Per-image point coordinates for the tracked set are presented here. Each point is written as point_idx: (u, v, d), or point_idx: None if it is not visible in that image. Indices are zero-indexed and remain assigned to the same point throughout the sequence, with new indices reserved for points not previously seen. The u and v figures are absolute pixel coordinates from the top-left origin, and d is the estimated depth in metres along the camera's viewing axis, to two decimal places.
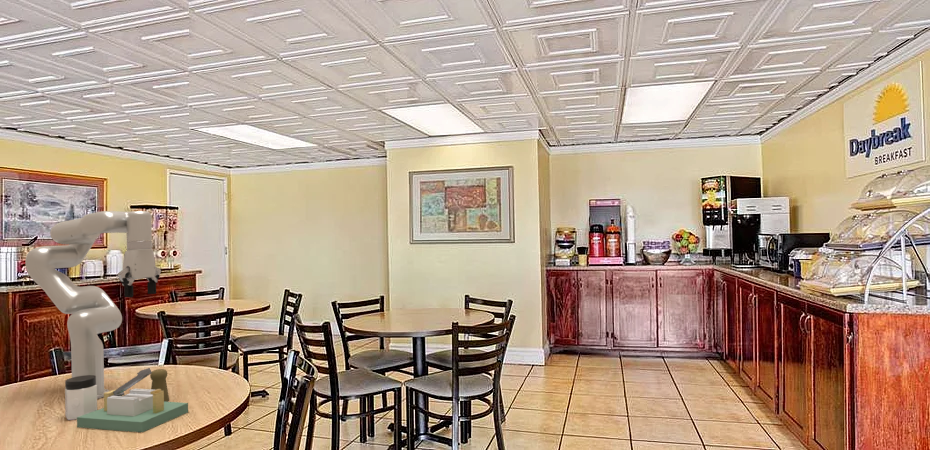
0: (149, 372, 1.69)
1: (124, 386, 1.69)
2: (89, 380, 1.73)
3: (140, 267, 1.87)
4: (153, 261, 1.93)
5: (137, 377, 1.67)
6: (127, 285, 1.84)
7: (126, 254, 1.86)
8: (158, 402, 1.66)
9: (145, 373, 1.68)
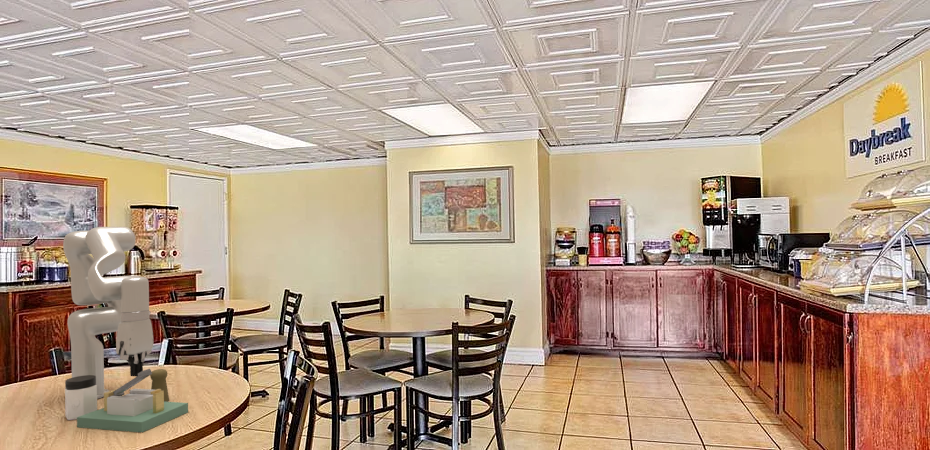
0: (149, 373, 1.69)
1: (124, 386, 1.68)
2: (89, 380, 1.73)
3: (136, 341, 1.67)
4: (151, 332, 1.72)
5: (137, 378, 1.67)
6: (133, 363, 1.68)
7: (120, 327, 1.65)
8: (158, 402, 1.66)
9: (146, 373, 1.68)
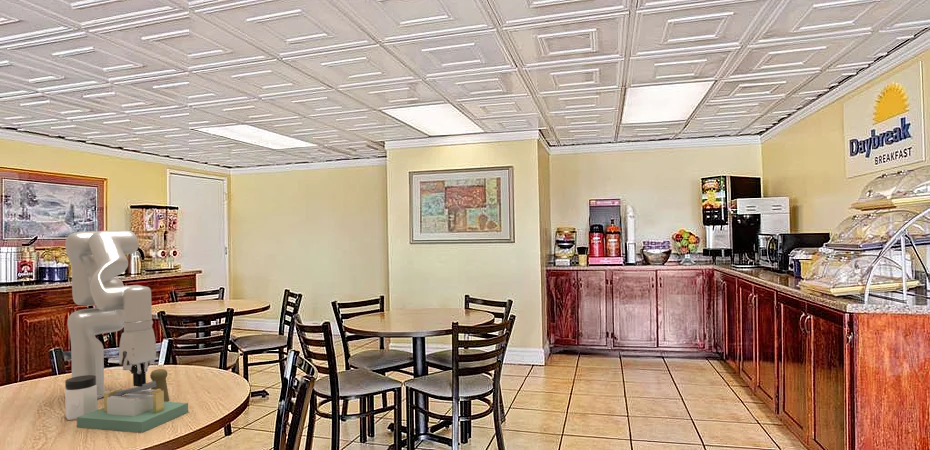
0: (154, 385, 1.68)
1: (126, 392, 1.68)
2: (89, 380, 1.73)
3: (139, 351, 1.66)
4: (153, 342, 1.72)
5: (141, 388, 1.67)
6: (136, 373, 1.67)
7: (123, 337, 1.65)
8: (158, 402, 1.66)
9: (150, 386, 1.67)
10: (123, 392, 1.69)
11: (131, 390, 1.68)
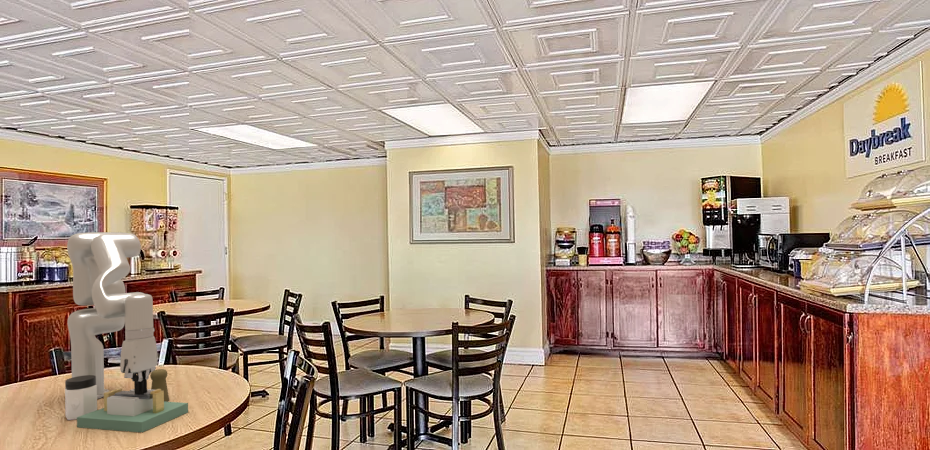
0: None
1: (127, 396, 1.68)
2: (89, 380, 1.73)
3: (140, 359, 1.66)
4: (155, 349, 1.72)
5: (143, 396, 1.67)
6: (137, 381, 1.67)
7: (124, 345, 1.65)
8: (158, 402, 1.66)
9: (152, 396, 1.67)
10: (124, 395, 1.69)
11: (132, 396, 1.68)
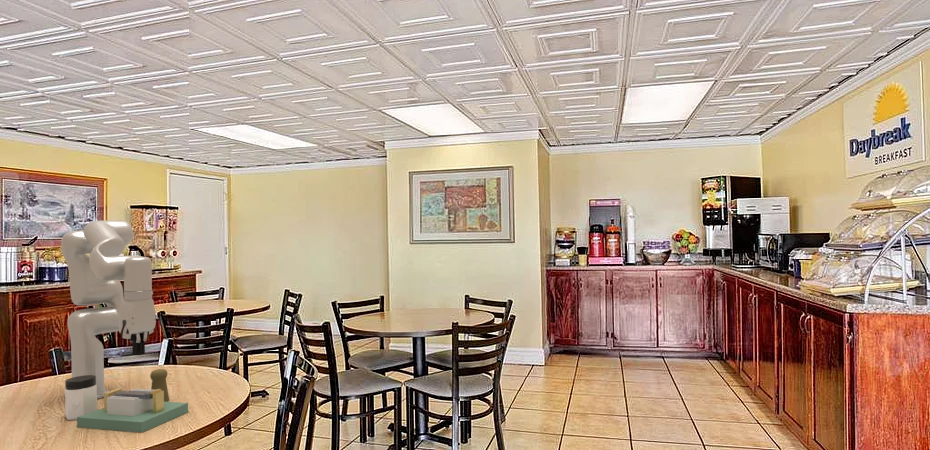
0: None
1: (127, 396, 1.68)
2: (89, 380, 1.73)
3: (138, 320, 1.68)
4: (153, 312, 1.73)
5: (143, 396, 1.67)
6: (135, 342, 1.69)
7: (123, 306, 1.66)
8: (158, 402, 1.66)
9: (152, 396, 1.67)
10: (124, 395, 1.69)
11: (132, 396, 1.68)
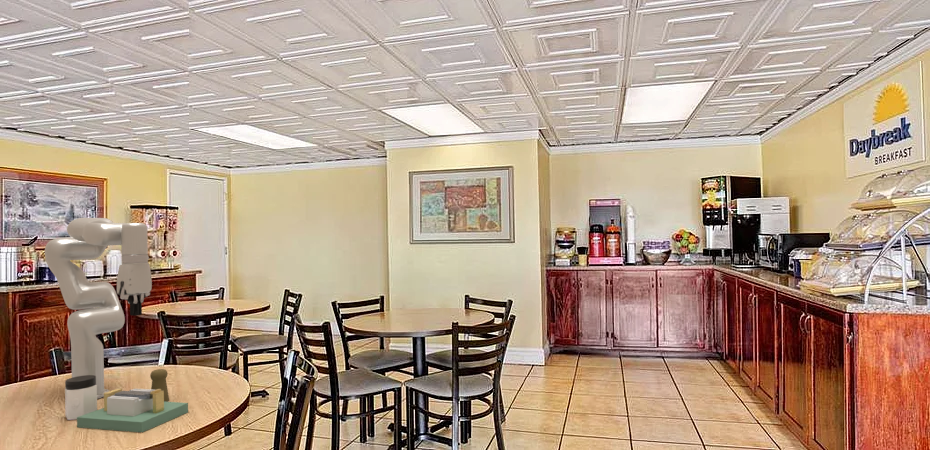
0: None
1: (127, 396, 1.68)
2: (89, 380, 1.73)
3: (135, 282, 1.78)
4: (149, 275, 1.84)
5: (143, 396, 1.67)
6: (133, 303, 1.79)
7: (120, 268, 1.76)
8: (158, 402, 1.66)
9: (152, 396, 1.67)
10: (124, 395, 1.69)
11: (132, 396, 1.68)
